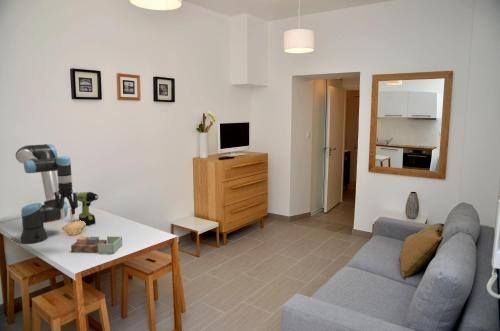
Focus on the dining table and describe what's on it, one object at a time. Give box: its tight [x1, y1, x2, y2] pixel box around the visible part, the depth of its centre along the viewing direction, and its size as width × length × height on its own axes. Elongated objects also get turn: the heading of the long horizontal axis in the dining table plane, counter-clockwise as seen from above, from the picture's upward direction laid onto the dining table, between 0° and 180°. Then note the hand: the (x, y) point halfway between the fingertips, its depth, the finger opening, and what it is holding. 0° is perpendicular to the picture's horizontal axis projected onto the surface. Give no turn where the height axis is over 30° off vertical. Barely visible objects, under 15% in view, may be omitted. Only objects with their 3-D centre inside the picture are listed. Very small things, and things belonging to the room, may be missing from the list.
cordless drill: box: [77, 191, 99, 227], centre depth 264 cm, size 23×7×25 cm, turn 57°
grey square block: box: [87, 236, 100, 244], centre depth 220 cm, size 5×5×3 cm
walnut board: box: [70, 239, 108, 254], centre depth 221 cm, size 17×11×4 cm, turn 87°
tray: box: [98, 235, 123, 255], centre depth 220 cm, size 9×13×6 cm
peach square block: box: [76, 235, 90, 244], centre depth 220 cm, size 5×5×3 cm
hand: (67, 219), depth 218 cm, fingers open, 5 cm apart
